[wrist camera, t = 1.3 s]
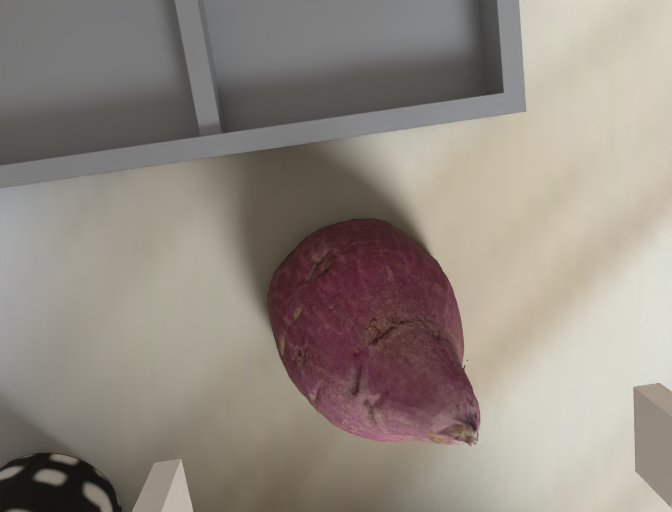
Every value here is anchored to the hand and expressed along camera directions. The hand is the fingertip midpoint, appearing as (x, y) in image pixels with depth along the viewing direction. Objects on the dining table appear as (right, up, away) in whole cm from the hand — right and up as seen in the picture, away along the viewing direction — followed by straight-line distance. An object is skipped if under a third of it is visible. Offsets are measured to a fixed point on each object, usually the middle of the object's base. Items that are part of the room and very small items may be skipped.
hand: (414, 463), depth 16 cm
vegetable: (-1, +3, +16) cm, 16 cm away
